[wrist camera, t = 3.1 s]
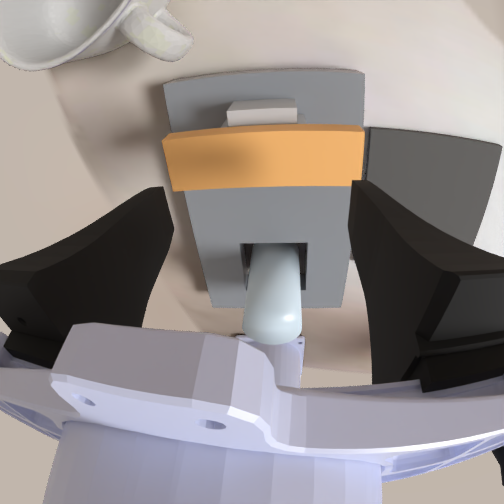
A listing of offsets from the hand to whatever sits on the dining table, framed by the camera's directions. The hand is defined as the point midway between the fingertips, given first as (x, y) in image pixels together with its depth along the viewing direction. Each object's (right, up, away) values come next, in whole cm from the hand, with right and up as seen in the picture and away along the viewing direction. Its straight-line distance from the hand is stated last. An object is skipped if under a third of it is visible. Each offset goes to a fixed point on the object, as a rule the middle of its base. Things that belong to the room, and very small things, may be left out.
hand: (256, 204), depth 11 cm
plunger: (+1, +5, +6) cm, 8 cm away
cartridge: (+2, -2, +15) cm, 15 cm away
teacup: (-8, +15, +2) cm, 17 cm away
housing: (+1, +2, +12) cm, 12 cm away
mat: (+14, +2, +10) cm, 18 cm away
